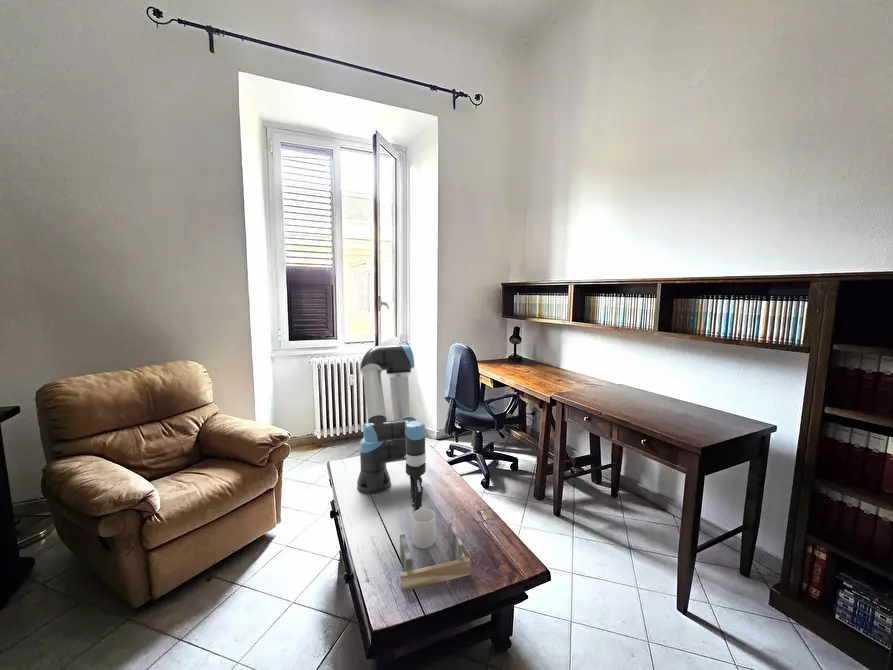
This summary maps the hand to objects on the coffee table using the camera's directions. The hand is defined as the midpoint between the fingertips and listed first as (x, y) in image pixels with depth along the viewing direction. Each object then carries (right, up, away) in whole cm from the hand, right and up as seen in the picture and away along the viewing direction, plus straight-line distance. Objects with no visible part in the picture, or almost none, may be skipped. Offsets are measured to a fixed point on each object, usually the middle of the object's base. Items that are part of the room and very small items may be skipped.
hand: (416, 519), depth 141 cm
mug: (+3, -3, -8) cm, 9 cm away
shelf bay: (+7, -4, -22) cm, 23 cm away
